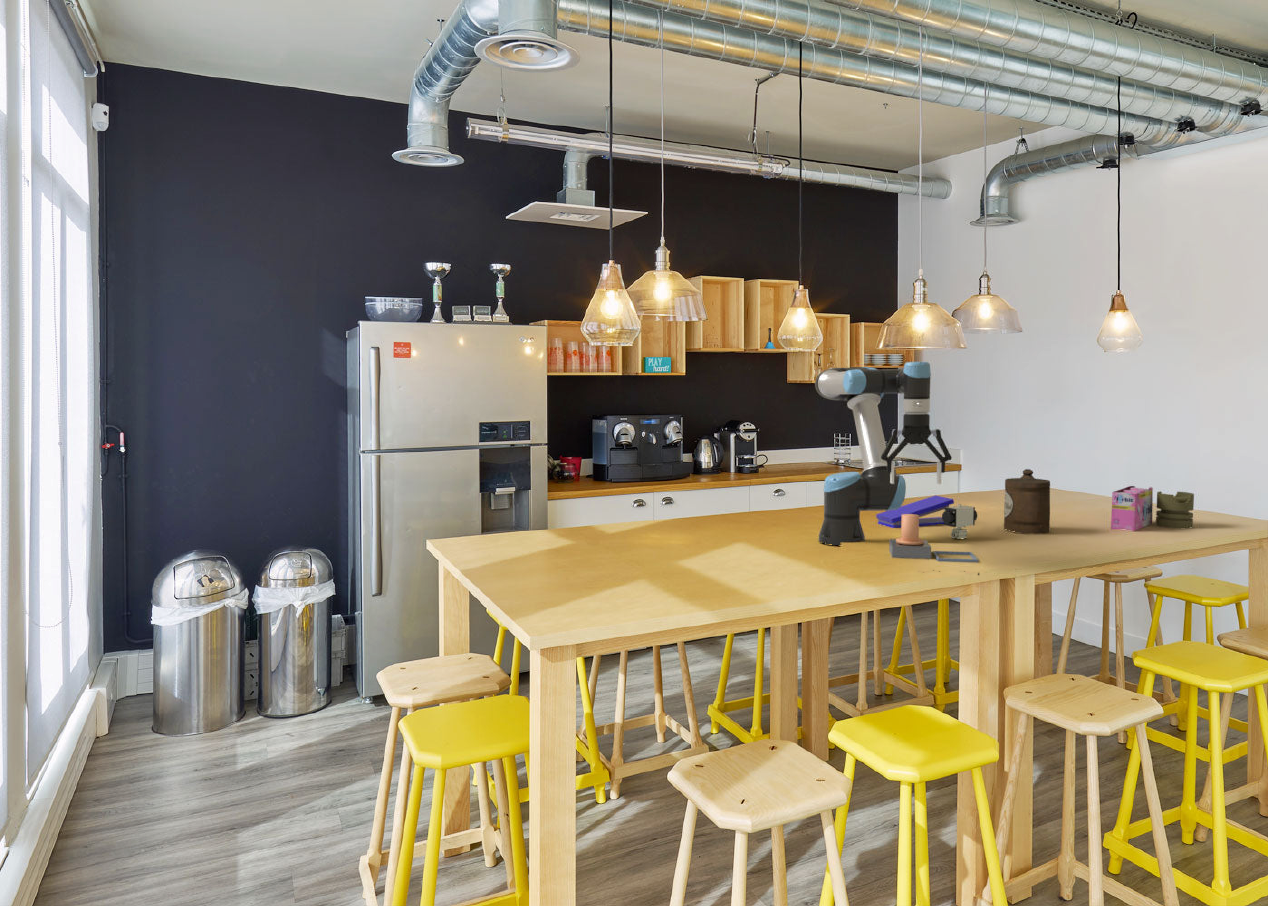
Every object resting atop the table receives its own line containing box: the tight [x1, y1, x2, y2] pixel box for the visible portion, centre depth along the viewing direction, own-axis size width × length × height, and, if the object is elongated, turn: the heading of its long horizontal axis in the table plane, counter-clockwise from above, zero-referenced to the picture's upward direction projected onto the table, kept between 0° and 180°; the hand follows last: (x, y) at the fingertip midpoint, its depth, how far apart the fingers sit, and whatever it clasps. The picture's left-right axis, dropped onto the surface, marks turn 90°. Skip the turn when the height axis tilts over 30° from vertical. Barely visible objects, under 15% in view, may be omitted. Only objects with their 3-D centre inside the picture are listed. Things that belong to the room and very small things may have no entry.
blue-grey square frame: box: [932, 550, 979, 563], centre depth 250 cm, size 11×11×2 cm
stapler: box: [875, 494, 955, 529], centre depth 318 cm, size 12×28×10 cm, turn 107°
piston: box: [1155, 490, 1195, 529], centre depth 307 cm, size 11×12×11 cm
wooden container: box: [1003, 468, 1051, 534], centre depth 301 cm, size 15×15×22 cm
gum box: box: [1110, 485, 1154, 532], centre depth 307 cm, size 24×8×14 cm, turn 135°
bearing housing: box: [888, 538, 932, 560], centre depth 256 cm, size 11×11×5 cm
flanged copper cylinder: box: [896, 514, 925, 545], centre depth 255 cm, size 8×8×12 cm
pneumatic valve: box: [941, 503, 978, 540], centre depth 287 cm, size 6×12×12 cm, turn 114°
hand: (915, 483), depth 255 cm, fingers open, 13 cm apart
